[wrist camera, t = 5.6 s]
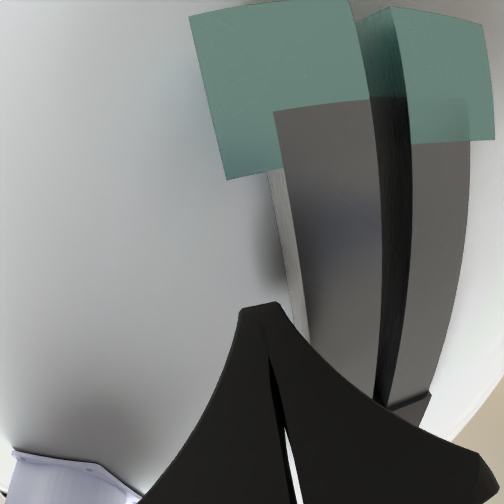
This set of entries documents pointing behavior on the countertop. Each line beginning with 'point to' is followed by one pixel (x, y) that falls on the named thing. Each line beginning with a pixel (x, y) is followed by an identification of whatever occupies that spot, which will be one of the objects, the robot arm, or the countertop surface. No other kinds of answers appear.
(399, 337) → the tongs fixed arm
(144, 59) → the countertop surface
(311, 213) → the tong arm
